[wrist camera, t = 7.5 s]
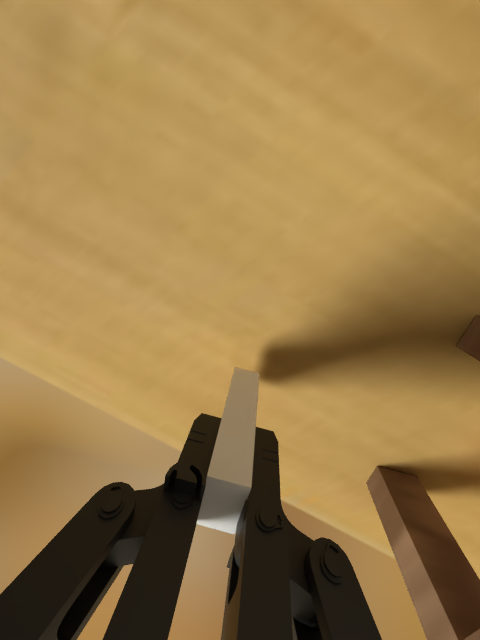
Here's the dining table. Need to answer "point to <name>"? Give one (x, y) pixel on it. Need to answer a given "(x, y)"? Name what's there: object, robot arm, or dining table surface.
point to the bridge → (430, 546)
